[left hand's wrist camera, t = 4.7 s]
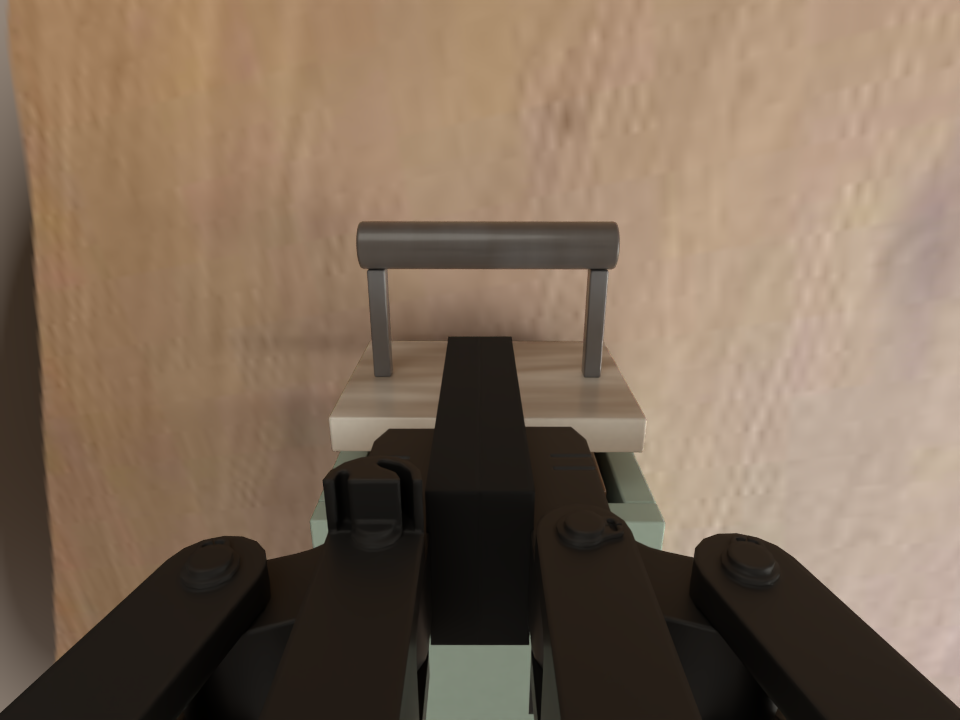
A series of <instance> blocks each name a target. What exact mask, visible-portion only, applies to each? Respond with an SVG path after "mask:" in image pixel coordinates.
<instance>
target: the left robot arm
mask: <svg viewBox="0 0 960 720" xmlns="http://www.w3.org/2000/svg"><path fill="white" fill-rule="evenodd" d="M323 489H324V498H325V507H326V517H327V526H328V534H327V537H326V539H325V542H324V544H322V545H320V546H317V547H315V548H313V549H311V550H307V551H304V552H301V553H297V554H293V555H288V556H284V557H279V558H275V559H270V560H266V553H265V550H264V549H263V548H262V547H261V546H260V545H259V543H258V542H257V541H254V540H251V539H248V538H245V537H241V536H222V537H216V538H211V539H207V540H203V541H200V542H198V543H196V544H193V545H191V546H188V547H186V548H184V549H182V550H181V551H179V552H178V553H176V554H175V555H174V556H172V557H171V558H169V559H168V560H167V561H165V562H164V563H163V564H162V565H161V566H160V567H159V568H158V569H157V570H156V571H155V572H154V573H152V574H151V575H150V576H149V577H148V578H147V579H146V580H145V581H144V582H143V583H142V584H140V585H139V586H138V587H137V588H136V589H135V590H134V591H133V592H132V593H131V594H130V595H128V596H127V597H126V598H125V599H124V600H123V601H122V602H121V603H120V604H119V605H118V606H116V607H115V608H114V609H113V610H112V611H111V612H110V613H109V614H108V615H107V616H106V617H104V618H103V619H102V620H101V621H100V622H99V623H98V624H97V625H96V626H95V627H94V628H92V629H91V630H90V631H89V632H88V633H87V634H86V635H85V636H84V637H83V638H82V639H80V640H79V641H78V642H77V643H76V644H75V645H74V646H73V647H72V648H71V649H70V650H68V651H67V652H66V653H65V654H64V655H63V656H62V657H61V658H60V659H59V660H58V661H56V662H55V663H54V664H53V665H52V666H51V667H50V668H49V669H48V670H47V671H46V672H45V673H43V674H42V675H41V676H40V677H39V678H38V679H37V680H36V681H35V682H34V683H33V684H31V685H30V686H29V687H28V688H27V689H26V690H25V691H24V692H23V693H22V694H21V695H20V696H18V697H17V698H16V699H15V700H14V701H13V702H12V703H11V704H10V705H9V706H7V707H6V708H5V709H4V710H3V711H2V712H1V713H0V720H426V713H427V702H428V691H429V680H430V667H429V642H430V639H431V645H529V639H531V667H530V692H529V714H534V720H960V708H959V707H958V706H956V705H955V704H954V703H953V702H952V701H951V700H950V699H949V698H948V697H947V696H945V695H944V694H943V693H942V692H941V691H940V690H939V689H938V688H937V687H936V686H934V685H933V684H932V683H931V682H930V681H929V680H928V679H927V678H926V677H925V676H923V675H922V674H921V673H920V672H919V671H918V670H917V669H916V668H915V667H914V666H912V665H911V664H910V663H909V662H908V661H907V660H906V659H905V658H904V657H903V656H901V655H900V654H899V653H898V652H897V651H896V650H895V649H894V648H893V647H892V646H890V645H889V644H888V643H887V642H886V641H885V640H884V639H883V638H882V637H881V636H880V635H878V634H877V633H876V632H875V631H874V630H873V629H872V628H871V627H870V626H869V625H867V624H866V623H865V622H864V621H863V620H862V619H861V618H860V617H859V616H858V615H856V614H855V613H854V612H853V611H852V610H851V609H850V608H849V607H848V606H847V605H845V604H844V603H843V602H842V601H841V600H840V599H839V598H838V597H837V596H836V595H834V594H833V593H832V592H831V591H830V590H829V589H828V588H827V587H826V586H825V585H823V584H822V583H821V582H820V581H819V580H818V579H817V578H816V577H815V576H814V575H812V574H811V573H810V572H809V571H808V570H807V569H806V568H805V567H804V566H803V565H802V564H800V563H799V562H798V561H797V560H796V559H795V558H794V557H792V556H791V555H790V554H788V553H787V552H785V551H784V550H782V549H781V548H779V547H778V546H776V545H774V544H772V543H769V542H767V541H764V540H762V539H760V538H757V537H752V536H747V535H742V534H737V533H732V534H716V535H713V536H710V537H708V538H705V539H703V540H702V541H701V542H700V543H699V544H698V546H697V547H696V548H695V553H694V558H693V557H688V556H684V555H679V554H674V553H670V552H665V551H661V550H658V549H655V548H651V547H648V546H646V545H644V544H642V543H640V542H637V541H636V540H635V538H634V536H633V533H632V531H631V529H630V528H629V527H628V525H627V524H626V522H625V521H624V520H623V519H621V518H620V517H618V516H617V515H616V514H614V513H613V512H611V511H610V508H609V505H608V502H607V499H606V496H605V493H604V490H603V487H602V484H601V481H600V478H599V476H598V473H597V470H596V467H595V464H594V461H593V458H592V457H591V452H590V449H589V446H588V443H587V440H586V439H585V438H584V437H583V436H582V435H580V434H579V433H578V432H577V431H576V430H574V429H573V428H572V427H525V422H524V415H523V409H522V402H521V395H520V389H519V382H518V376H517V369H516V363H515V356H514V350H513V343H512V337H448V343H447V349H446V356H445V363H444V369H443V376H442V382H441V389H440V395H439V402H438V409H437V415H436V422H435V428H434V429H388V430H387V431H386V432H384V433H383V434H382V435H381V436H380V437H379V438H377V439H376V440H375V441H374V443H373V446H372V449H371V452H370V455H369V456H368V457H360V458H357V459H354V460H350V461H347V462H344V463H342V464H341V465H339V466H337V467H336V468H334V469H332V470H331V471H330V472H329V473H328V474H327V476H326V477H325V478H324V479H323Z"/></svg>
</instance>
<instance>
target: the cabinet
mask: <svg viewBox="0 0 960 720" xmlns="http://www.w3.org/2000/svg"><path fill="white" fill-rule="evenodd" d="M370 452H371V451H341V452H340V454H339V456H338V458H337V460H336V463H335V465H334V467H333V469H334V468H336V467H337V466H339V465H341V464H342V463H344V462H347V461H350V460H354V459H357V458H360V457H368V456H369V455H370ZM594 455H595V458H596V461H597V464H598V467H599V470H600V473H601V476H602V479H603V482H604V485H605V488H606V499H607V502H608V505H609V508H610V511H611V512H613V513H614V514H616V515H617V516H618V517H620V518H621V519H623V520H624V521H625V522H626V524H627V525H628V527H629V528H630V529H631V531H632V533H633V536H634V538H635V540H636V541H637V542H640V543H642V544H644V545H646V546H648V547H651V548H655V549H658V550H661V551H662V544H663V536H664V529H665V521H664V519H663V517H662V515H661V512H660V510H659V508H658V506H657V504H656V502H655V500H654V497H653V495H652V493H651V491H650V489H649V486H648V484H647V482H646V480H645V478H644V475H643V473H642V471H641V469H640V467H639V464H638V462H637V460H636V458H635V456H634V453H633V452H594ZM310 527H311V535H312V544H313V548H315V547H317V546H320V545H322V544H324V542H325V539H326V537H327V534H328V526H327V517H326V507H325V498H324V490H323V492H322V494H321V496H320V499H319V501H318V504H317V506H316V508H315V511H314V513H313V515H312V517H311V520H310ZM429 667H430V680H429V691H428V702H427V713H426V720H534V714H529V692H530V667H531V639H529V645H431V639H430V642H429Z"/></svg>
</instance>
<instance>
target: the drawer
mask: <svg viewBox="0 0 960 720" xmlns="http://www.w3.org/2000/svg"><path fill="white" fill-rule="evenodd" d="M356 247H357V257H358V261H359V264H360V267H361V268H363V269H368V271H367V278H368V293H369V307H370V322H371V337H372V341H370V342H369V344H368V346H367V348H366V350H365V352H364V353H363V355H362V357H361V359H360V361H359V363H358V365H357V366H356V368H355V370H354V372H353V374H352V376H351V378H350V379H349V381H348V383H347V385H346V387H345V389H344V391H343V392H342V394H341V396H340V398H339V400H338V402H337V404H336V405H335V407H334V409H333V411H332V413H331V415H330V417H329V428H330V438H331V448H332V451H371V449H372V446H373V443H374V441H375V440H376V439H377V438H379V437H380V436H381V435H382V434H383V433H384V432H386V431H387V430H388V429H434V428H435V422H436V415H437V409H438V402H439V395H440V389H441V382H442V376H443V369H444V363H445V356H446V349H447V343H448V341H391V326H390V308H389V290H388V272H387V269H588V278H587V293H586V309H585V324H584V339H583V342H573V341H512V343H513V350H514V356H515V363H516V369H517V376H518V382H519V389H520V395H521V402H522V409H523V415H524V422H525V427H572V428H573V429H574V430H576V431H577V432H578V433H579V434H580V435H582V436H583V437H584V438H585V439H586V440H587V443H588V446H589V449H590V452H591V457H592V458H593V461H594V464H595V467H596V470H597V473H598V476H599V478H600V481H601V484H602V487H603V490H604V493H605V496H606V488H605V485H604V482H603V479H602V476H601V473H600V470H599V467H598V464H597V461H596V458H595V455H594V452H643V450H644V442H645V433H646V424H647V419H646V417H645V415H644V413H643V411H642V410H641V408H640V406H639V404H638V402H637V401H636V399H635V397H634V395H633V393H632V392H631V390H630V388H629V386H628V384H627V383H626V381H625V379H624V377H623V375H622V373H621V372H620V370H619V368H618V366H617V364H616V363H615V361H614V359H613V357H612V355H611V354H610V352H609V350H608V348H607V346H606V345H605V343H604V342H603V337H604V324H605V311H606V298H607V285H608V270H607V269H614V268H615V266H616V264H617V261H618V256H619V248H620V236H619V229H618V225H617V223H615V222H402V221H362V222H360V223H359V225H358V229H357V236H356Z"/></svg>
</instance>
